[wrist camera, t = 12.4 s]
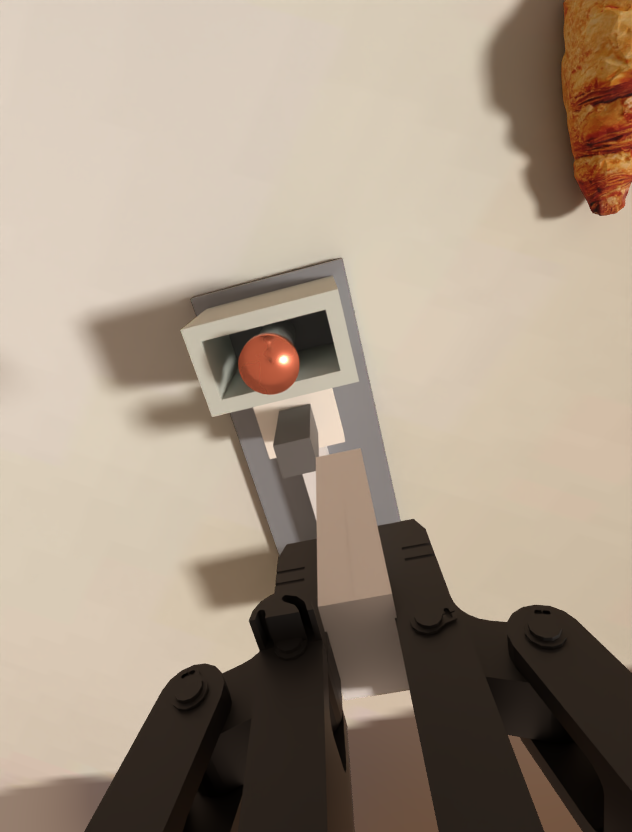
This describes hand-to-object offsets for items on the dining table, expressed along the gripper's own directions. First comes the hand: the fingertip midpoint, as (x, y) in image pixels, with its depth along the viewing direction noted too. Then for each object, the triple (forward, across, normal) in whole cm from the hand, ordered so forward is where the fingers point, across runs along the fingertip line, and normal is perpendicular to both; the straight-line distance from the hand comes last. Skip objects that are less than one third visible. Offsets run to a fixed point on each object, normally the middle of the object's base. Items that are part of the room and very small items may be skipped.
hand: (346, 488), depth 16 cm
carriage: (+23, -3, -5) cm, 24 cm away
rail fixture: (+24, -3, -11) cm, 27 cm away
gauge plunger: (+22, -4, +1) cm, 22 cm away
